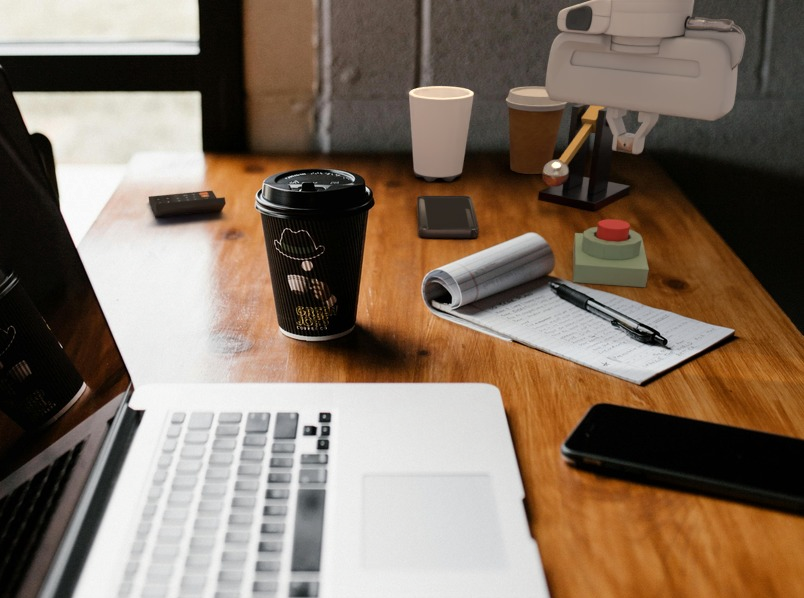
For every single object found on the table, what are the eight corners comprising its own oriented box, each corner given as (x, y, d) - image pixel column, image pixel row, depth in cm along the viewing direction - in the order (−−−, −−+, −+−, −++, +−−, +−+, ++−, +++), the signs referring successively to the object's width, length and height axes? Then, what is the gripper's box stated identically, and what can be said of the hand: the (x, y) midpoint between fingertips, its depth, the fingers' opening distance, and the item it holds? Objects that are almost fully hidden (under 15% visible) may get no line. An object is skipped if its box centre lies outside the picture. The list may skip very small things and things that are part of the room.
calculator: (212, 196, 129) (210, 176, 127) (227, 219, 119) (225, 198, 117) (149, 202, 126) (146, 181, 125) (158, 226, 117) (155, 204, 115)
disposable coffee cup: (547, 180, 134) (556, 99, 128) (490, 172, 139) (496, 93, 132) (568, 166, 141) (577, 89, 135) (514, 158, 146) (520, 83, 139)
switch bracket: (593, 211, 121) (606, 117, 114) (537, 199, 126) (547, 108, 119) (629, 193, 128) (643, 103, 121) (574, 183, 133) (585, 96, 126)
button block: (645, 287, 97) (651, 253, 95) (573, 282, 99) (577, 249, 97) (639, 254, 106) (644, 222, 104) (572, 249, 108) (576, 218, 106)
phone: (418, 229, 111) (417, 195, 124) (418, 238, 112) (416, 202, 124) (480, 230, 111) (472, 195, 123) (479, 238, 111) (471, 203, 124)
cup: (444, 165, 142) (448, 83, 136) (481, 179, 135) (487, 93, 129) (394, 173, 138) (396, 90, 131) (430, 188, 131) (433, 101, 124)
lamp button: (628, 244, 99) (631, 229, 98) (596, 242, 99) (598, 227, 99) (626, 234, 102) (629, 220, 101) (595, 232, 102) (597, 218, 102)
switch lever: (562, 194, 118) (558, 174, 115) (539, 189, 120) (535, 169, 117) (611, 124, 122) (609, 103, 119) (588, 121, 124) (585, 100, 121)
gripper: (761, 17, 84) (731, 160, 91) (573, 6, 96) (560, 133, 103) (737, 24, 80) (708, 173, 87) (544, 11, 92) (533, 144, 99)
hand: (627, 151), depth 95 cm, fingers closed
